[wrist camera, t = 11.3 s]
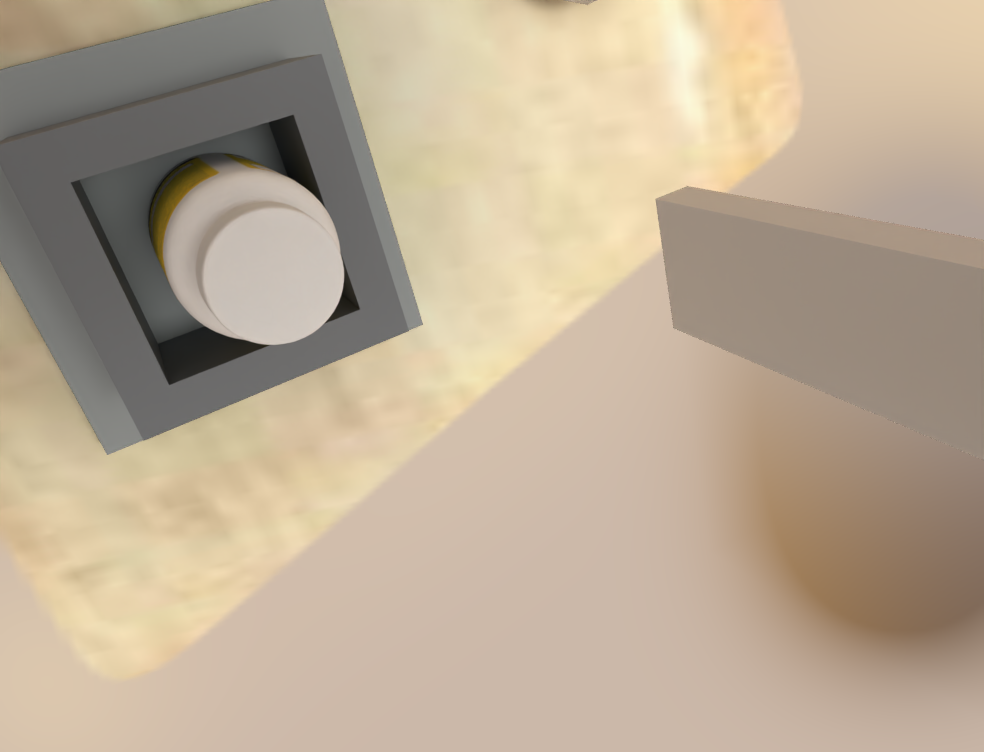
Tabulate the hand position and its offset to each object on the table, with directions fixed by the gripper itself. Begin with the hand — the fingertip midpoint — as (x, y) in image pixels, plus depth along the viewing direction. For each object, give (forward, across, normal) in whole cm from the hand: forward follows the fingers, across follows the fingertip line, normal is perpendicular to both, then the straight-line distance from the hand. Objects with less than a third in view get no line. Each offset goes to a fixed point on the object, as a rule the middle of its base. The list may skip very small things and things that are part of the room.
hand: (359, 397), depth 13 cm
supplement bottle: (+20, 0, 0) cm, 20 cm away
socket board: (+21, 0, 0) cm, 21 cm away
